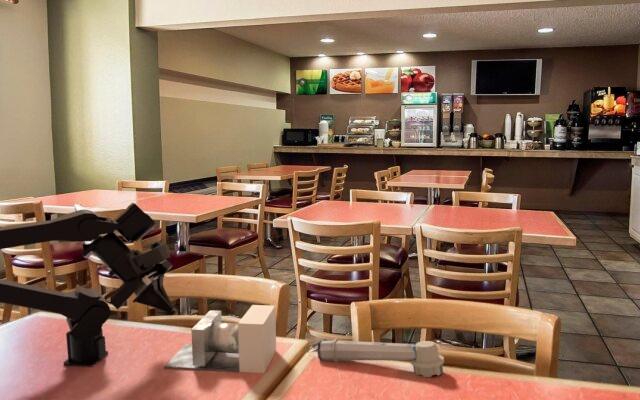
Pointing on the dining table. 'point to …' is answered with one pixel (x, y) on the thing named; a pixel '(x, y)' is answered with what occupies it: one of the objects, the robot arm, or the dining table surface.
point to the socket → (257, 338)
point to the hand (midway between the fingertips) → (172, 310)
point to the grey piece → (213, 338)
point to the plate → (216, 363)
